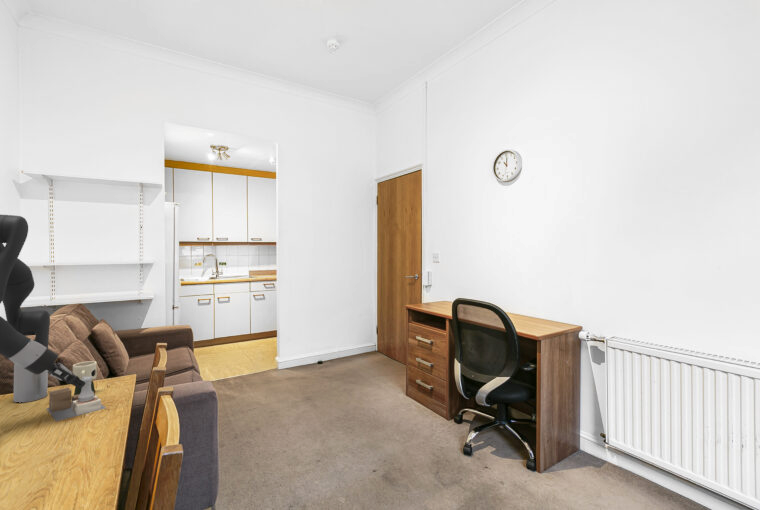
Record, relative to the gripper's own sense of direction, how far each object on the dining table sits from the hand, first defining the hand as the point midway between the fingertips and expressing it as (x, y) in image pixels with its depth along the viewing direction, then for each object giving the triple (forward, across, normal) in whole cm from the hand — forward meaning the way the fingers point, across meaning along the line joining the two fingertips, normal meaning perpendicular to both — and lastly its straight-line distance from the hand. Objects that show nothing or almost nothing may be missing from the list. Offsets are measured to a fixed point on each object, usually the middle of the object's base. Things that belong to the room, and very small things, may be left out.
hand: (79, 383), depth 120 cm
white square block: (+8, 0, +5) cm, 10 cm away
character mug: (+11, +18, +4) cm, 22 cm away
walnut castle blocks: (+7, +8, +7) cm, 13 cm away
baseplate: (+8, +4, +8) cm, 11 cm away
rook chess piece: (+6, 0, +3) cm, 7 cm away
